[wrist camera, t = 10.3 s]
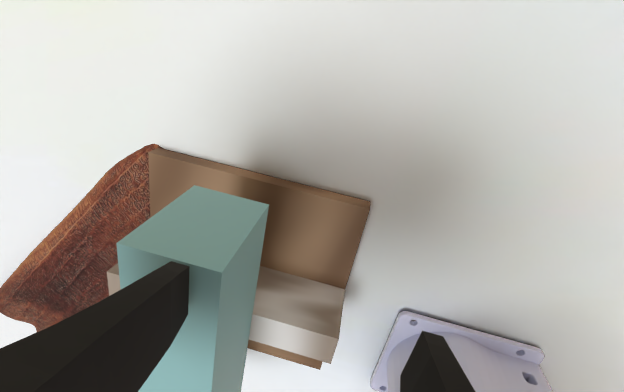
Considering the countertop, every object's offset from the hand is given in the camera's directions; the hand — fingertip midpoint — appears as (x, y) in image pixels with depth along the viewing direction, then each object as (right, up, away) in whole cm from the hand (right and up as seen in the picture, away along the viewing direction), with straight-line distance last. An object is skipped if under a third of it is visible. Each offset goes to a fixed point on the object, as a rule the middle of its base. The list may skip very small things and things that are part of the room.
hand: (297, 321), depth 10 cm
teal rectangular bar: (-5, -3, +8) cm, 10 cm away
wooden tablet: (-16, -2, +16) cm, 23 cm away
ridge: (-4, -1, +13) cm, 13 cm away
